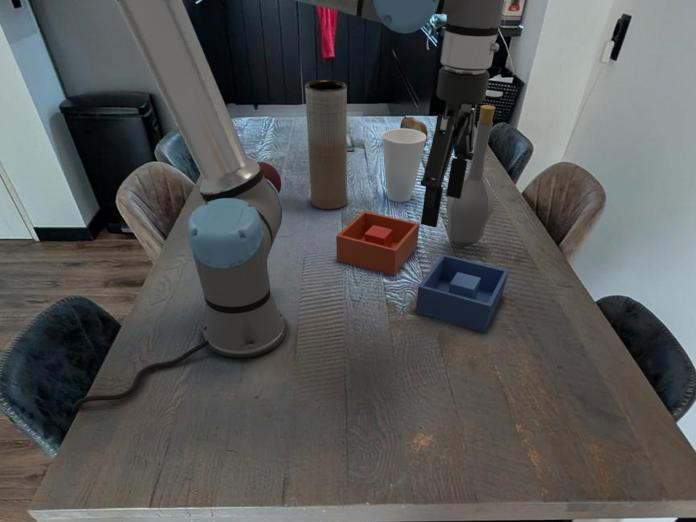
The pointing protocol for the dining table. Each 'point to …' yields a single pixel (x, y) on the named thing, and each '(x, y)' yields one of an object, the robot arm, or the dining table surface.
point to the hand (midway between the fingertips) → (441, 210)
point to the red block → (379, 236)
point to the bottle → (473, 191)
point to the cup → (402, 161)
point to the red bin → (375, 255)
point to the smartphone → (349, 144)
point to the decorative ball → (271, 175)
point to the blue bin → (459, 308)
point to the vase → (327, 142)
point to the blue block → (465, 285)
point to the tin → (414, 125)
